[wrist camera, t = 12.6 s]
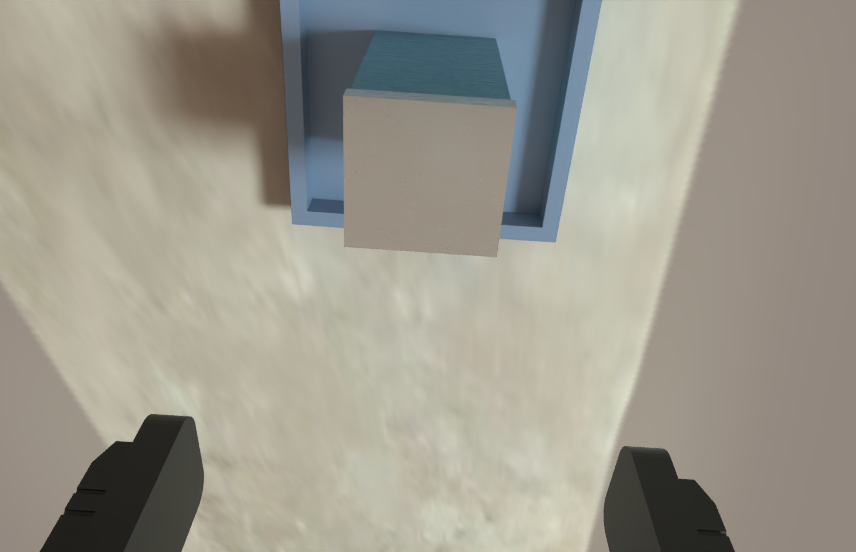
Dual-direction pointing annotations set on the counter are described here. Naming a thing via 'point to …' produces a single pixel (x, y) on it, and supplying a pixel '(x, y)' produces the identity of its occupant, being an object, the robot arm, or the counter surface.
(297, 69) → the tray
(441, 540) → the counter surface
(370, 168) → the tea tin
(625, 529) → the robot arm
